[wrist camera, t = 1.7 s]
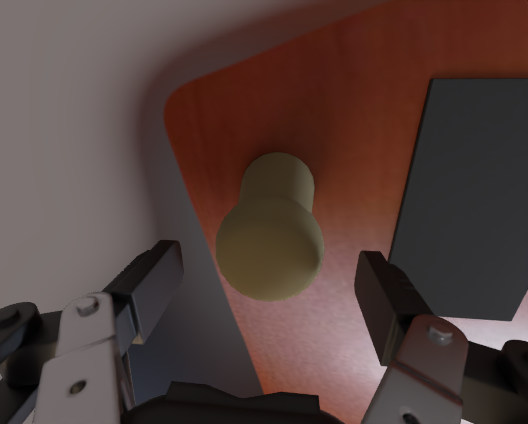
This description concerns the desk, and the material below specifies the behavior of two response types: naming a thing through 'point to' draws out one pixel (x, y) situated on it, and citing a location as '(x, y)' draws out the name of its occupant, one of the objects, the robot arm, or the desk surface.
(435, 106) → the desk mat
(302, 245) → the olive pawn piece
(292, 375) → the desk surface
